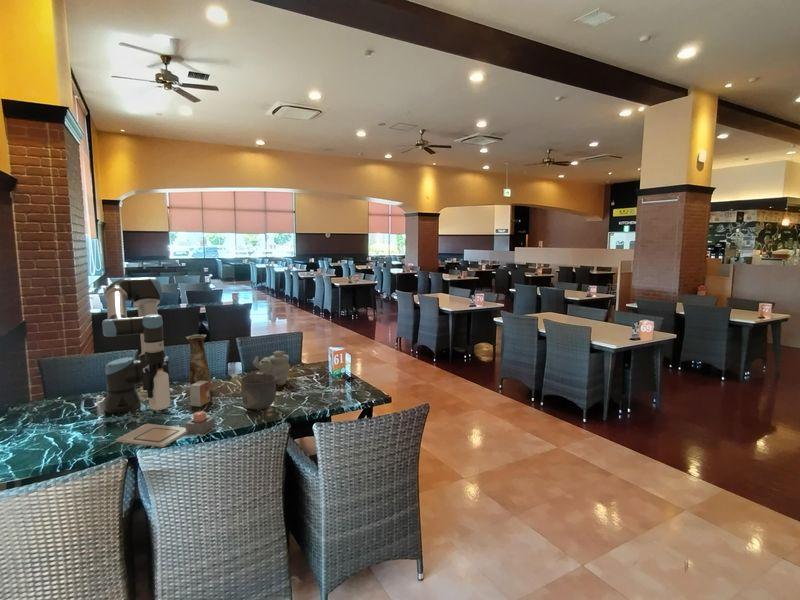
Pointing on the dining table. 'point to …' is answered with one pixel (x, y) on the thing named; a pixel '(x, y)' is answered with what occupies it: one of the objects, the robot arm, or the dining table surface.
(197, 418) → the button
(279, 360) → the teapot
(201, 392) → the small box
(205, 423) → the button housing
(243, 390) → the cup
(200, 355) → the vase
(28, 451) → the dining table surface
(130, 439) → the colouring board
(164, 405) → the potion bottle
